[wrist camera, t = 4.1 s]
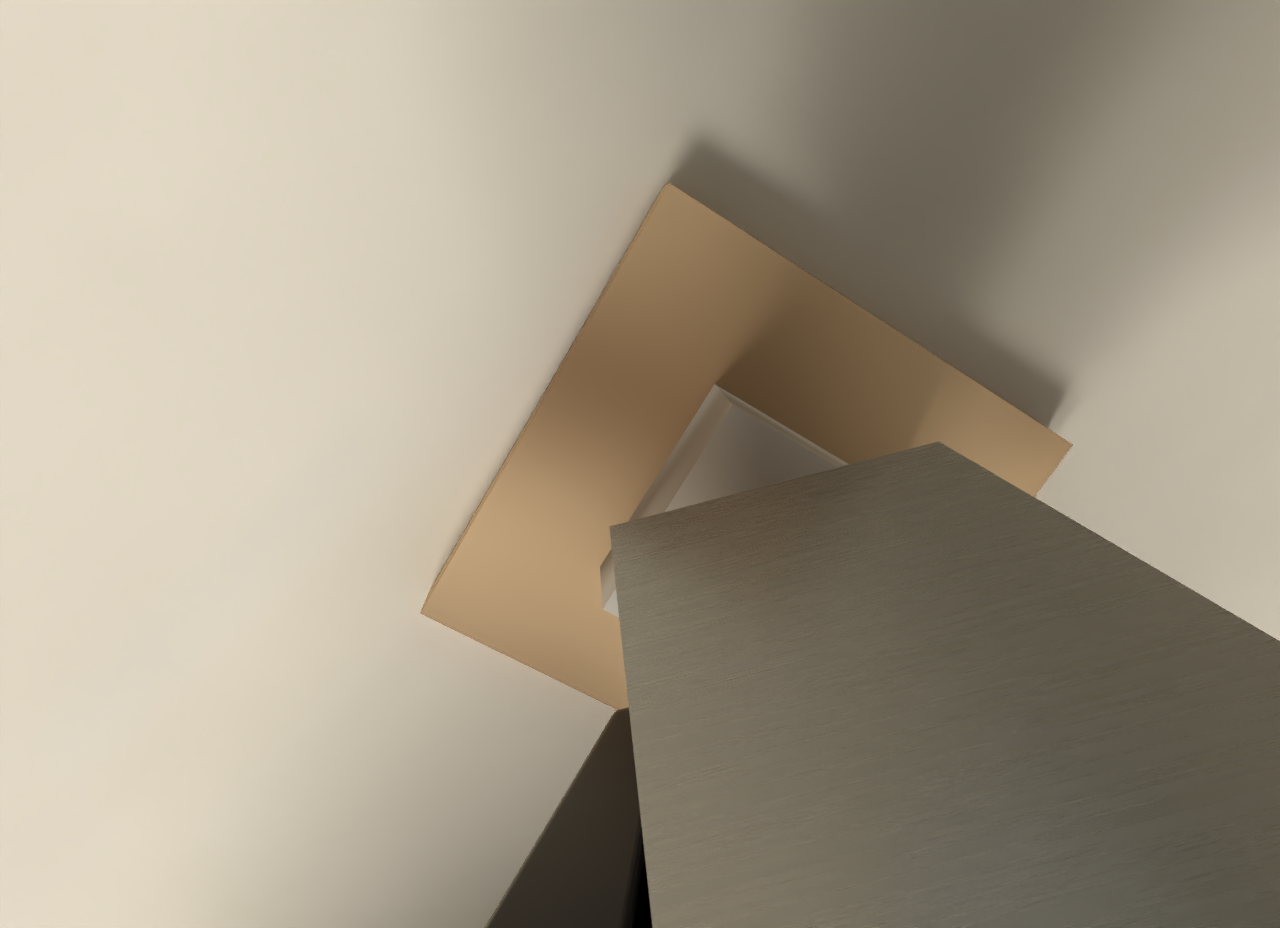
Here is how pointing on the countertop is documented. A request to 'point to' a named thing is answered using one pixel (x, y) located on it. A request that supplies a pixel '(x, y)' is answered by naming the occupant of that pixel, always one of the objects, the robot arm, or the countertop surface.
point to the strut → (938, 714)
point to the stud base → (651, 388)
